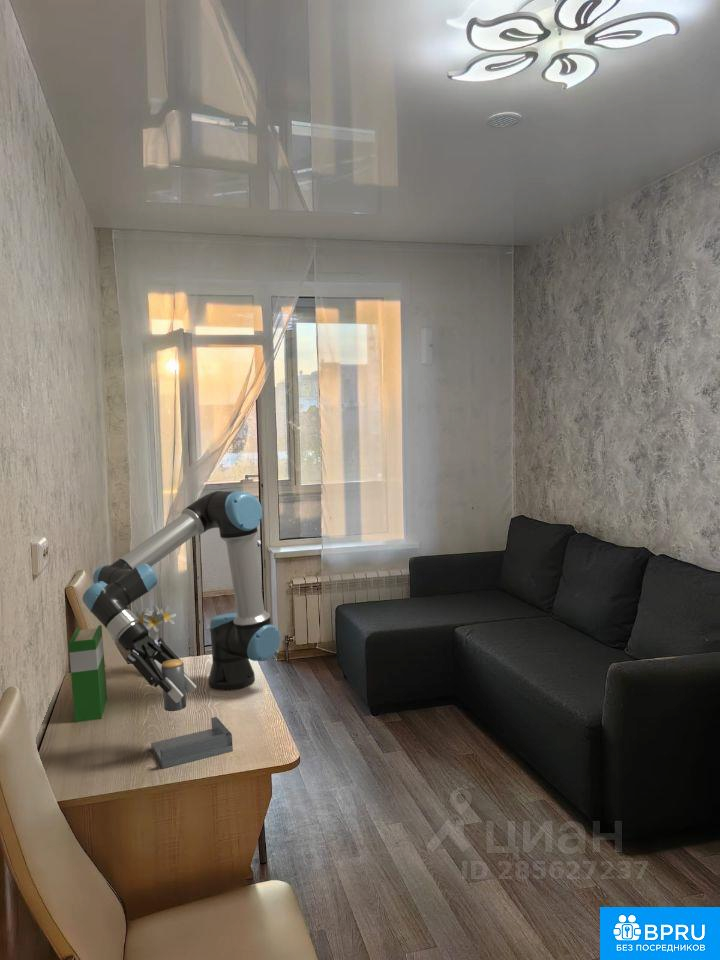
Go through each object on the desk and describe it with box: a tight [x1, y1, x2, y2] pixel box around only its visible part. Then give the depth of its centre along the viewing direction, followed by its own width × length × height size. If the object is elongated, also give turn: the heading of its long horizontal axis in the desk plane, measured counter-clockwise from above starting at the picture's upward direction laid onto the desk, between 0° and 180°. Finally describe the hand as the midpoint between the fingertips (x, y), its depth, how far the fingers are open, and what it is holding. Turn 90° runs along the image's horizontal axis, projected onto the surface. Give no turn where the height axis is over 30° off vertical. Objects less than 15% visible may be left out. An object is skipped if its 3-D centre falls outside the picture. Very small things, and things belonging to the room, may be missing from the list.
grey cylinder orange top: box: [161, 658, 187, 712], centre depth 192 cm, size 6×6×12 cm
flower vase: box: [134, 605, 177, 673], centre depth 258 cm, size 12×18×24 cm
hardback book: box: [68, 624, 108, 723], centre depth 225 cm, size 18×7×24 cm, turn 14°
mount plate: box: [150, 716, 234, 769], centre depth 193 cm, size 18×14×4 cm
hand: (186, 694), depth 191 cm, fingers closed on grey cylinder orange top, 6 cm apart
